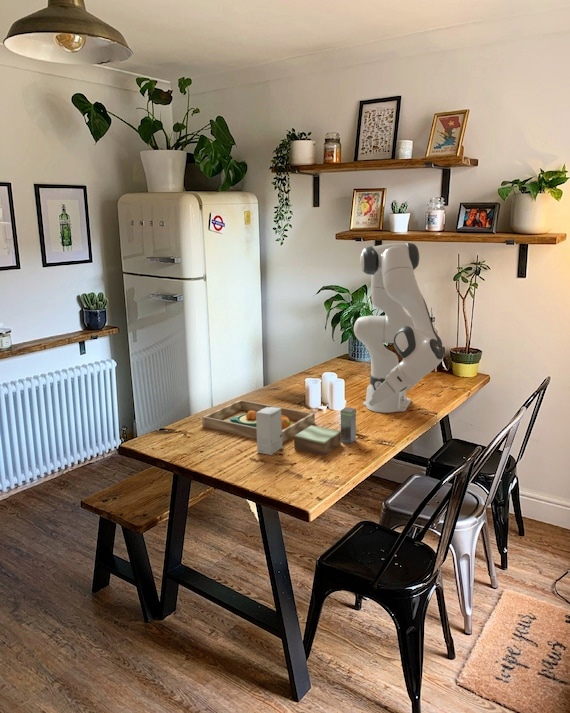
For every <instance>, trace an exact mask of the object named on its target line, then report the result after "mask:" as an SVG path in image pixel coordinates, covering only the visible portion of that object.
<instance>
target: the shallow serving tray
mask: <svg viewBox="0 0 570 713" xmlns="http://www.w3.org/2000/svg"><path fill="white" fill-rule="evenodd" d="M266 407H275V408H281V416H282V415H283V416H286V417H287V418H288V419H289V420H291V419H292V420H291V421H296V420H297V421H296V422H295V423H292V424H291V425H290V426H289V427H287V428H285V429H284V430H282V443H285V442H286V441H287V440H289V439H290V438H293V437H294V435H296V434H298V433H299V432H301V431H303V430H304V429H306V428H308V427H309V426H311V425H312V426H313V425H314V424H315V419H316V418H315V415H316V414H315V413H314V412H309V411H302V410H298V409H293V408H286V407H281V406H276V405H272V404H271V405H270V404H266V403H259V402H254V401H248V400H243V399H239V400H237V401H235V402H233V403H231V404H228V405H226V406H224V407H221V408H219V409H218V410H215V411H213V412H210V413H207V414H206V415H203V416H202V417H201V421H202V427H203V428H206V427H207V429H210V428H212V429H211V430H215V429H216V430H215V431H219V430H220V432H224V431H225V432H224V433H228V432H229V433H230V434H232V435H233V434H234V435H237V436H238V435H239V436H242V437H247V438H250V439H256V440H257V428H256V427H252V426H247V425H243V424H238V423H233V422H228V421H224V420H225V418H228V417H229V416H232V415H233V414H236V413H237V412H240V411H245V412H249V411H251V410H252V411H255V412H258V411H260V410H261V409H264V408H266ZM223 419H224V420H223Z"/></svg>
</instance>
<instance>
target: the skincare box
mask: <svg viewBox="0 0 570 713" xmlns="http://www.w3.org/2000/svg"><path fill="white" fill-rule="evenodd" d="M256 428H257V439H256V449H257V451H256V452H257V453H259V454H264V455H267V456H272V455H273V454H275V453H276V452H278V451H279V450H281V449H282V448H283V442H282V419H281V408H275V407H266V408H264V409H261V410H260V411H258V412H256Z"/></svg>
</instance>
